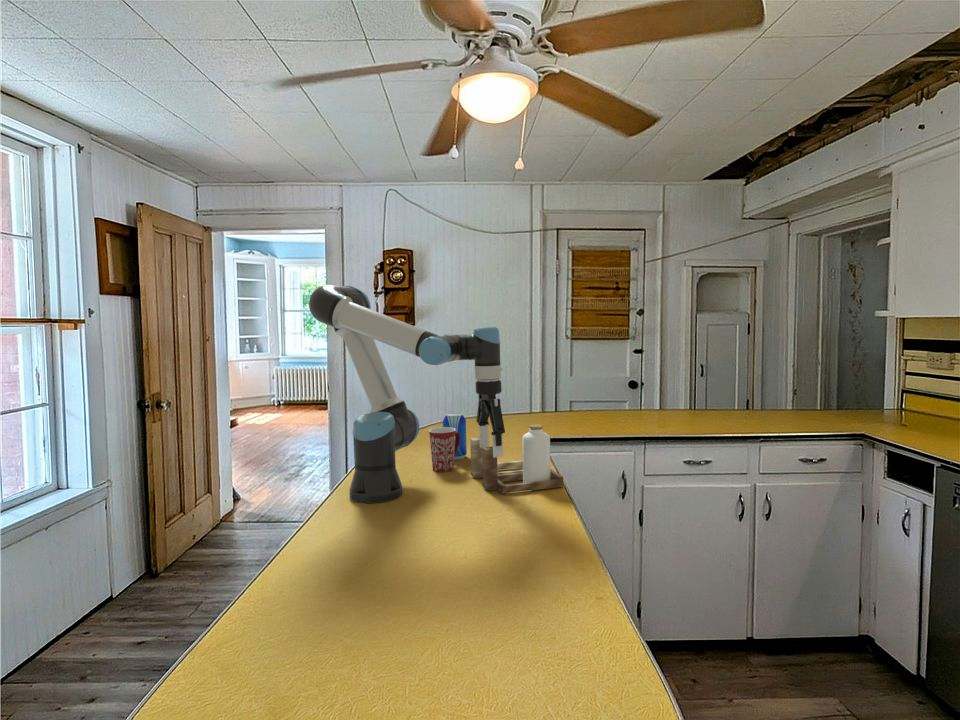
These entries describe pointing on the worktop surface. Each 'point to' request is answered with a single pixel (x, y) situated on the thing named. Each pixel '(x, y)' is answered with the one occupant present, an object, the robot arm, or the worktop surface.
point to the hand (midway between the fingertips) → (490, 451)
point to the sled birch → (478, 462)
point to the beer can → (459, 424)
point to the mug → (443, 448)
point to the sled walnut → (512, 477)
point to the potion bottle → (536, 455)
